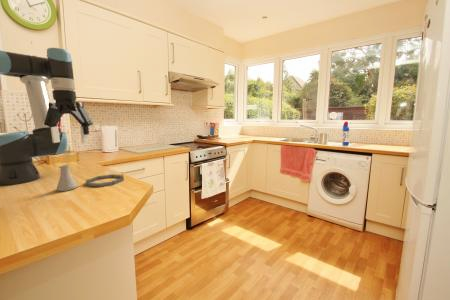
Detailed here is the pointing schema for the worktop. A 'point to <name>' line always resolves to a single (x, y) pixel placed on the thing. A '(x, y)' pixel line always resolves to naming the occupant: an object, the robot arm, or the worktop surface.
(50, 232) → the worktop surface
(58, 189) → the flask
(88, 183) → the collar
